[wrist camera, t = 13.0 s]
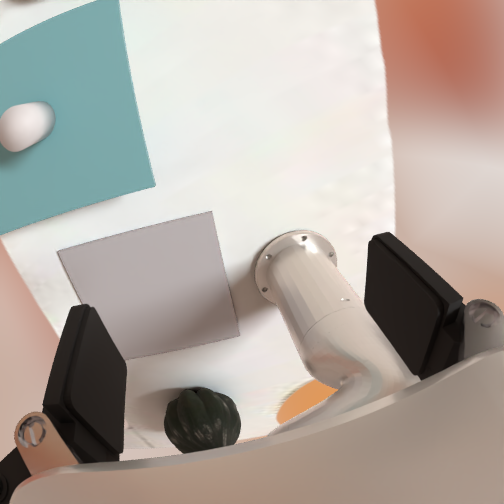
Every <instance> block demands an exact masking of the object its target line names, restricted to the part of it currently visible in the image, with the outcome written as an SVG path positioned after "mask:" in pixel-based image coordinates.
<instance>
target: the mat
mask: <svg viewBox="0 0 504 504" xmlns="http://www.w3.org/2000/svg"><path fill="white" fill-rule="evenodd" d="M58 254H59V256H60V258H61V260H62V263H63V265H64V267H65V269H66V271H67V273H68V276H69V278H70V280H71V282H72V284H73V286H74V288H75V290H76V292H77V294H78V296H79V298H80V300H81V302H82V304H88V305H90V307H94V308H95V309H96V311H97V312H98V314H99V316H100V318H101V320H102V322H103V324H104V326H105V327H106V329H107V331H108V333H109V335H110V336H111V338H112V340H113V342H114V343H115V345H116V347H117V349H118V350H119V352H120V354H121V355H122V357H123V359H124V360H128V359H134V358H139V357H145V356H150V355H155V354H160V353H165V352H170V351H175V350H180V349H185V348H190V347H194V346H199V345H203V344H208V343H212V342H217V341H221V340H225V339H229V338H234V337H238V336H240V332H239V328H238V324H237V320H236V315H235V311H234V307H233V303H232V298H231V294H230V290H229V285H228V281H227V277H226V272H225V268H224V263H223V259H222V255H221V250H220V246H219V241H218V236H217V232H216V227H215V223H214V218H213V213H212V211H210V212H205V213H201V214H197V215H192V216H188V217H184V218H180V219H176V220H172V221H167V222H163V223H159V224H155V225H151V226H147V227H143V228H140V229H136V230H132V231H128V232H124V233H120V234H116V235H113V236H109V237H105V238H102V239H98V240H94V241H91V242H87V243H83V244H80V245H76V246H73V247H69V248H66V249H62V250H59V251H58Z"/></svg>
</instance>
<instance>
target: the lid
mask: <svg viewBox="0 0 504 504" xmlns="http://www.w3.org/2000/svg"><path fill="white" fill-rule="evenodd" d="M155 185H156V183H155V180H154V176H153V172H152V168H151V164H150V160H149V156H148V151H147V147H146V143H145V139H144V134H143V130H142V125H141V121H140V116H139V112H138V107H137V102H136V97H135V93H134V88H133V82H132V77H131V72H130V67H129V61H128V56H127V50H126V44H125V38H124V32H123V25H122V18H121V12H120V4H119V0H97V1H94V2H91V3H88V4H85V5H83V6H80V7H77V8H75V9H72V10H69V11H67V12H64V13H62V14H60V15H57V16H55V17H53V18H50V19H48V20H46V21H44V22H42V23H39V24H37V25H35V26H33V27H31V28H29V29H27V30H25V31H23V32H21V33H19V34H17V35H15V36H14V37H12V38H10V39H8V40H6V41H5V42H3V43H1V44H0V235H2V234H5V233H8V232H10V231H13V230H16V229H18V228H21V227H24V226H27V225H30V224H32V223H35V222H38V221H41V220H44V219H47V218H50V217H53V216H56V215H59V214H62V213H65V212H68V211H71V210H75V209H78V208H81V207H84V206H87V205H91V204H94V203H97V202H101V201H104V200H108V199H111V198H115V197H118V196H122V195H125V194H129V193H133V192H136V191H140V190H144V189H148V188H152V187H155Z"/></svg>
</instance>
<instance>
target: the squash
mask: <svg viewBox="0 0 504 504" xmlns="http://www.w3.org/2000/svg"><path fill="white" fill-rule="evenodd" d="M164 428H165V433H166V435H167V437H168V438H169V440H170V441H171V442H172V443H173V444H174V445H175V447H176V448H177V449H178V450H179V451H181V452H182V453H183V454H187V453H193V452H199V451H205V450H210V449H216V448H221V447H226V446H230V445H234V444H235V443H236V441H237V439H238V437H239V434H240V429H241V420H240V416H239V413H238V411H237V408H236V405H235V403H234V402H233V400H232V399H231V398H230V397H228V396H226V395H224V394H220V393H214V392H213V391H212V390H210V389H207V388H202V389H200V390H199V391H198V392H197V393H195V392H194V391H192V390H185V391H183V392H182V393H181V395H180V396H179V399H175V400H173V401H171V402H170V403H169V404H168V406H167V410H166V416H165V419H164Z"/></svg>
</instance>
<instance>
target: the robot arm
mask: <svg viewBox="0 0 504 504" xmlns="http://www.w3.org/2000/svg"><path fill="white" fill-rule="evenodd" d="M255 281H256V284H257V287H258V289H259V291H260V293H261V294H262V295H263V296H264V298H266V299H267V300H268V301H270V302H272V303H274V304H277V306H278V308H279V310H280V313H281V315H282V317H283V319H284V322H285V324H286V326H287V328H288V331H289V333H290V335H291V338H292V340H293V342H294V344H295V347H296V349H297V351H298V353H299V355H300V358H301V360H302V362H303V364H304V366H305V368H306V370H307V371H308V372H309V374H310V375H311V376H312V377H314V378H315V379H316V380H317V381H319V382H321V383H323V384H325V385H327V386H330V387H332V388H335V389H338V391H337V392H335V393H334V394H332V395H331V396H329V397H328V398H327V399H325V400H323V401H322V402H320V403H318V404H317V405H315V406H313V407H311V408H310V409H308V410H306V411H304V412H303V413H301V414H299V415H297V416H295V417H294V418H292V419H291V420H288V421H287V422H285V423H283V424H281V425H280V426H278V427H277V428H275V429H274V430H273V431H272V432H270V433H269V435H268V436H267V437H265V438H261V439H257V440H253V441H249V442H244V443H240V444H235V445H230V446H226V447H221V448H216V449H210V450H205V451H199V452H193V453H187V454H181V455H173V456H165V457H157V458H148V459H138V460H128V461H119V454H120V453H123V448H124V410H125V391H126V376H127V366H126V363H125V361H124V359H123V357H122V355H121V354H120V352H119V350H118V349H117V347H116V345H115V343H114V342H113V340H112V338H111V336H110V335H109V333H108V331H107V329H106V327H105V326H104V324H103V322H102V320H101V318H100V316H99V314H98V312H97V311H96V309H95V308H94V307H90V305H88V304H82V305H77V306H73V307H71V309H70V311H69V314H68V317H67V320H66V323H65V326H64V329H63V332H62V335H61V338H60V342H59V345H58V348H57V351H56V355H55V358H54V362H53V365H52V369H51V373H50V376H49V380H48V384H47V388H46V392H45V396H44V400H43V404H42V405H43V411H42V413H41V412H32V413H29V414H27V415H25V416H24V417H23V418H22V419H21V420H20V421H19V423H18V425H17V426H16V429H15V432H14V439H15V443H16V445H17V447H16V448H15V449H13V450H12V452H10V453H9V454H8V455H7V456H6V457H5V458H4V459H3V460H2V461H1V462H0V504H504V315H503V312H502V311H501V309H500V308H499V307H498V306H496V305H495V304H494V303H492V302H490V301H487V300H483V299H476V300H472V301H470V302H468V303H467V305H466V306H465V305H464V304H463V303H462V301H463V297H462V296H461V295H459V293H458V292H457V291H455V290H454V289H453V288H452V287H451V286H450V285H449V284H448V283H447V282H446V281H445V280H444V279H443V278H441V276H439V275H438V274H437V273H436V272H435V271H434V270H433V269H432V268H431V267H429V266H428V265H427V264H426V263H425V262H424V261H423V260H422V259H421V258H419V257H418V256H417V255H416V254H415V253H414V252H413V251H411V250H410V249H409V248H408V247H407V246H406V245H404V244H403V243H402V242H401V241H400V240H398V239H397V238H396V237H395V236H394V235H393V234H391V233H390V232H385V233H381V234H377V235H374V236H373V237H372V240H371V241H369V243H368V257H367V273H366V285H365V297H364V303H363V301H362V300H361V299H360V297H359V296H358V295H357V294H356V292H355V291H354V290H353V288H352V287H351V286H350V284H349V283H348V282H347V281H346V279H345V278H344V277H343V275H342V274H341V273H340V272H339V270H338V269H337V256H336V252H335V250H334V247H333V246H332V245H331V243H330V242H329V241H328V240H327V239H326V238H325V237H324V236H322V235H320V234H319V233H316V232H313V231H307V230H300V231H293V232H289V233H287V234H284V235H282V236H280V237H278V238H277V239H275V240H274V241H272V242H271V243H270V244H269V245H268V246H267V247H266V248H265V249H264V251H263V252H262V253H261V255H260V257H259V259H258V261H257V264H256V267H255Z"/></svg>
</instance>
